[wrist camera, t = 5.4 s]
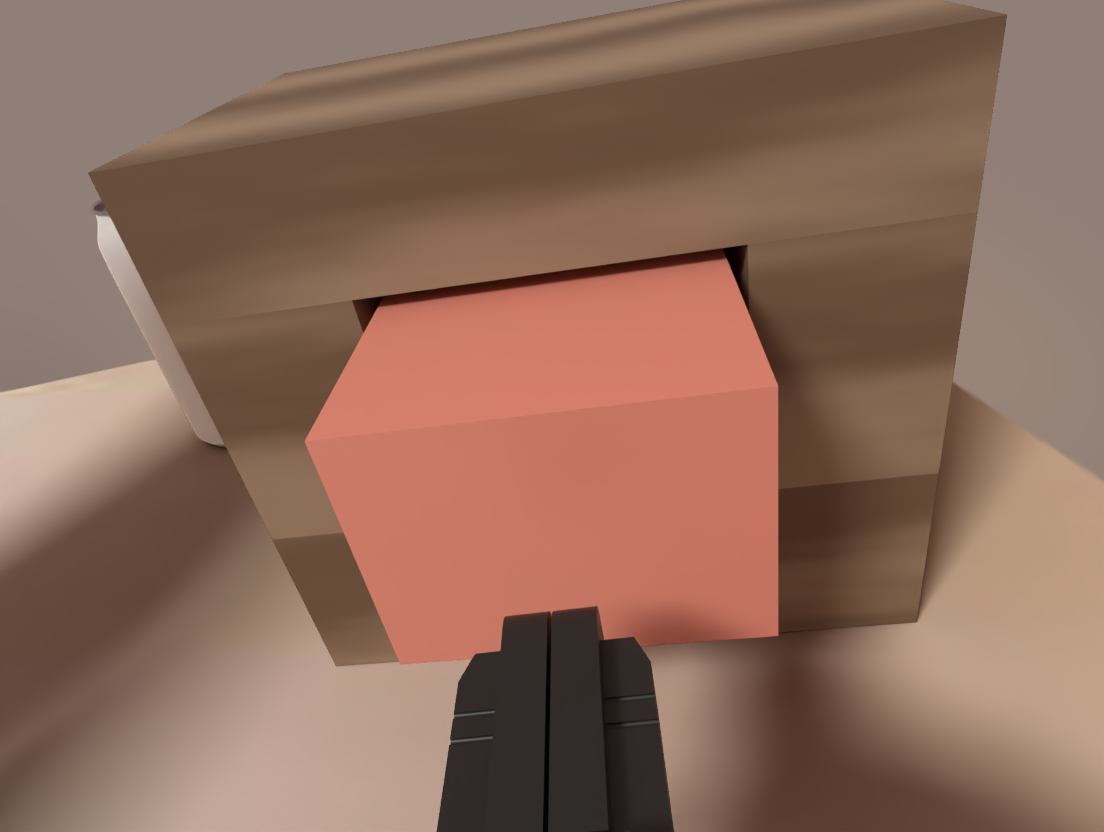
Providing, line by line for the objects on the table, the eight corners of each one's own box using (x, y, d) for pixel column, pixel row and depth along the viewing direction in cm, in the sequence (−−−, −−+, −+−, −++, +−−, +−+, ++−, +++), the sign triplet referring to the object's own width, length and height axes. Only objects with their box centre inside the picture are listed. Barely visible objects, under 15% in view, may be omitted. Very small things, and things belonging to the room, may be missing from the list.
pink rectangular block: (778, 636, 15) (778, 385, 12) (400, 664, 16) (304, 440, 13) (731, 458, 20) (722, 247, 17) (445, 488, 21) (384, 295, 18)
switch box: (916, 621, 22) (1007, 14, 13) (336, 666, 24) (88, 172, 15) (814, 401, 32) (827, -27, 23) (410, 447, 34) (284, 73, 25)
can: (327, 372, 42) (244, 157, 36) (314, 434, 37) (214, 194, 30) (213, 397, 42) (109, 185, 35) (183, 463, 36) (53, 228, 30)
